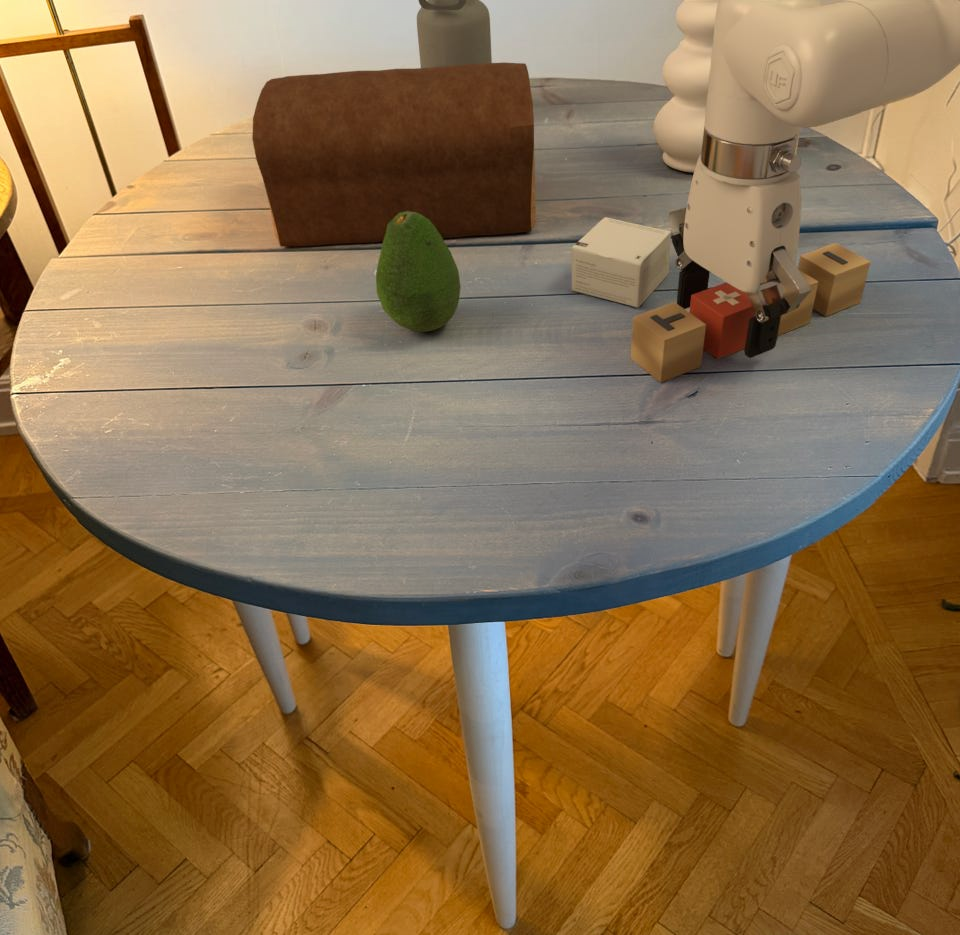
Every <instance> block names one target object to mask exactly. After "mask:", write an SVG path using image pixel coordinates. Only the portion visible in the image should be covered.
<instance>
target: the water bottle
mask: <svg viewBox="0 0 960 935" xmlns="http://www.w3.org/2000/svg"><path fill="white" fill-rule="evenodd" d="M418 3H419V6H420V7H419V8H420V9H419V10H418V12H417V14H416V31H417V41H418V53H419V63H420V68H431V67H443V66H454V65H473V64H485V63H493V60H492V59H493V58H492V37H491V36H492V35H491V17H490V11H489V8H488V6H486V4H485V2H483V1H481V0H418Z"/></svg>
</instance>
